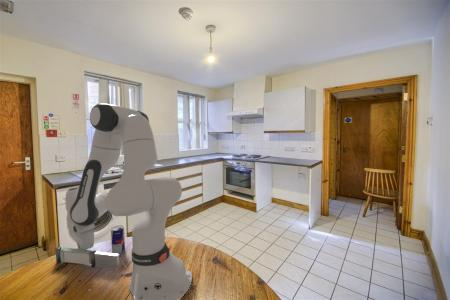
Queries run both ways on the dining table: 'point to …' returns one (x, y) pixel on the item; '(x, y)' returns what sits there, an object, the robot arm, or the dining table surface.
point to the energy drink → (118, 240)
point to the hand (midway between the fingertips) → (81, 251)
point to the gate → (75, 256)
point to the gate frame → (98, 259)
